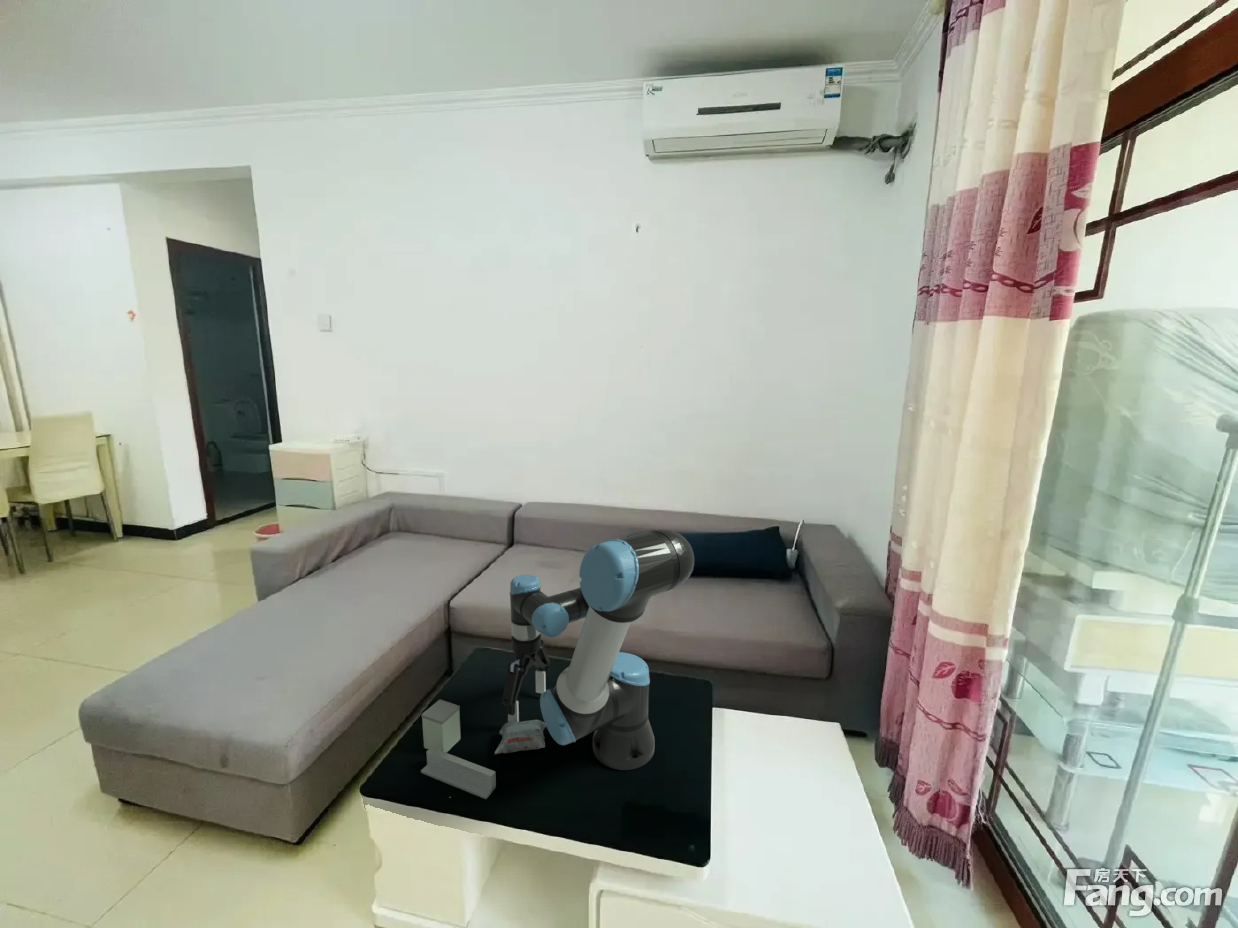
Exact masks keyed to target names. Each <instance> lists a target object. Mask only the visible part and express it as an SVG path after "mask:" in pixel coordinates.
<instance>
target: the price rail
mask: <svg viewBox="0 0 1238 928" xmlns="http://www.w3.org/2000/svg"><path fill="white" fill-rule="evenodd" d="M420 773H421V774H422V775H426V776H427V777H430V778H433V779H435V780H437V781H440V782H442V783H444V784H447V785H449V786H452V787H454V788H457V789H460V790H462V791H464V792H466V793H469V794H471V795H474V796H476V797H480V798H482V799H484V800H487V799H488V798H489V797H490V795H491V794H492V793H493V791H495V789H496V788H497V779H496V771H495V770H493V769H491V768H490V769H489V768H487V767H485V766H482V765H479V764H477V763H474V762H471V761H468V760H466V759H463V758H461V757H459V756H457V755H453V754H450V753H448V752H447V753H445V752H443V751H440V750H437V749H435V748H432V747H431V748H430V749H429V750H428V749H427V750H426V766H424V767H423V768H422V769H421V770H420Z"/></svg>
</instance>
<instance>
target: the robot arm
mask: <svg viewBox="0 0 1238 928" xmlns="http://www.w3.org/2000/svg"><path fill="white" fill-rule="evenodd" d="M694 566H695V555H694V551H693V547H692V545H691V543H690V542H689V541H688V540H687V539H686V538H685V537H684V536H683V535H682V534H680V533H678V532H676V531H675V530H670V529H663V528H662V529H653V530H651V531H646V532H642V533H639V534H633V535H630V536H625V537H621V538H612V539H608V540H605V541H603V542H601V543H597V544H595V545H593V546H592V547H590V548H589V549H588V550H587V551H586V552H585V553H584V556H583V557H582V560H581V562H580V566H579V575H578V576H579V578H580V581H579V586H580V587H578V588H575V589H571V590H568V591H567V590H566V591H565V592H564V591H563V592H561V593H556V594H554V595H550V596H548V595H547V594H545V593H544V592H543V591H541V587H542V586H541V581H540V580H541V579H540V578H539V577H538V576H537V575H535V574H529V573H527V574H526V573H525V574H520V575H517V576H515V577H513V578H512V579H511V581H510V587H509V588H510V590H509V600H510V601H509V602H510V622H511V624H510V625H511V629H510V630H511V637H510V638H511V650H512V652H513V653H514V654H515V659H514V662H508V664H507V673H506V674H507V675H506V678H505V683H504V688H503V691H502V692H503V693H502V697H501V701H500V702H501V704H502V705H504V706H506V707H507V723H509V722H520V712H519V711H520V710H519V700H518V698H519V697H518V696H519V695H520V691H521V689H522V684H523V681H524V678H525V677H526V676H527V675H528V674H527V673H528V671H529V669H531V668H532V666H534V667H535V668H537V669H536V670H535V673H534V674H535V693H538V694H541V695H540V697H539V706H540V711H541V715H542V719H543V722H544V723H545V724H546V727H545V728H546V729H547V730H548V732H549V734H550V736H551V737H552V739H553V740H554V741H555V742H556V743H557V744H558V745H561V746H566V745H569V744H572V743H576V741H577V740H579V739H581V738H584V737H586V736H587V735H590V734H591V733H593V732H594V733H593V735H592V752H593V754H594V756H595V758H596V759H597V760H598V761H599V762H600V763H601V764H602V765H604V766H606V767H608V768H611V769H614V770H617V771H618V770H619V771H630V770H636V769H638V768H641V767H643V766H645V765H646V764H647V763H648V762H649V761H651V759H652V758H653V756H654V753H655V748H656V747H655V746H656V745H655V743H656V742H655V741H656V740H655V736H654V733H653V729H652V726H651V723H650V720H649V701H650V699H649V698H650V696H649V695H650V683H651V679H650V671H649V670H650V668H649V666H648V664H647V663H646V661H645V660H643V658H641V657H639V655H638V656H637V655H635V654H632V653H628V652H624V651H623V652H622V651H620V650H621V649H622V648H621V647H622V645H623V643H624V640H625V638H626V635H627V633H628V630H629V629H630V626H631V623H634V622H637V620H639V619H640V618H641V617H642V616H643V614H644V613H645V610H646V608H647V606H648V604H649V601H650V599H651V598H652V597H654V596H657V595H660V594H663V593H665V592H669V591H671V590H675V589H676V588H678V587H679V586H682V584H684V583H685V582H687V580H688V579H689V578H690V576H691V574H692V573H693V571H694ZM583 619H584V622H583V625H582V628H581V630H580V634H579V637H578V640H577V643H576V646H575V649H574V651H573V654H572V657H571V660H570V664H569V666H568V667H566V668H565V669H564V670H562V671H561V673H560V674H559V676H558V678H557V679H556V684H555V686H554V687H553V688H547V687H546V686H547V685H546V683H547V682H546V672H549V670H550V667H549V665H550V664H551V661H550V658H549V656H548V651H546V650H547V649H546V648H545V642H544V641H545V640H544V639H542V635H544V637H547V638H556V637H558V636H560V635H561V634H562V633H563V632H564V631H565V630H566V629H567V628H568V625H569V624H571V623H574V622H576V621H580V620H583ZM520 670H521V671H520ZM546 688H547V689H546Z"/></svg>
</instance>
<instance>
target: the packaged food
mask: <svg viewBox="0 0 1238 928" xmlns="http://www.w3.org/2000/svg"><path fill="white" fill-rule="evenodd" d="M546 728H547V727H546V724H545V722H544V721H542V720H539V719H532V720H523V721H519V722H509V723H508V722H506V723H504V724H503V726H501V729H499V735H501V738H502V739H501V740H500V743H499V744H498V746H497V748H496V749H495V751H494V755H498V754H502V753H503V754H510V753H515V752H520V751H523V752H524V751H526V752H527V751H531V750H539V749H543V748H545V747H546V742H545V738H546V737H545V736H544V730H545V729H546Z"/></svg>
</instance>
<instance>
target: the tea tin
mask: <svg viewBox="0 0 1238 928" xmlns="http://www.w3.org/2000/svg"><path fill="white" fill-rule="evenodd" d="M460 709H461V708H460V705H459V704H458V705H457V704H455V703H453V702H449V701H447V700H446V701H445V700H443V699H438V700H437V701H436V702H435V703H434V704H432V705H431V706H430V707H429V708H427V709H426V710H425V711H424V712H422V714H421V713H420V714H421V718H422V735H423V737H422V738H423V748H424V749H427V751H428V750H429V749H430V748H431V747H432V748H435V749H437V750H440V751H443V752H445V753H448V752H449V751H450V750H451V749H452V748H453V747H454V746H455V745H456V744H458V742H459V741H460V740H461V739H462V737H461V719H460Z"/></svg>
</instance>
